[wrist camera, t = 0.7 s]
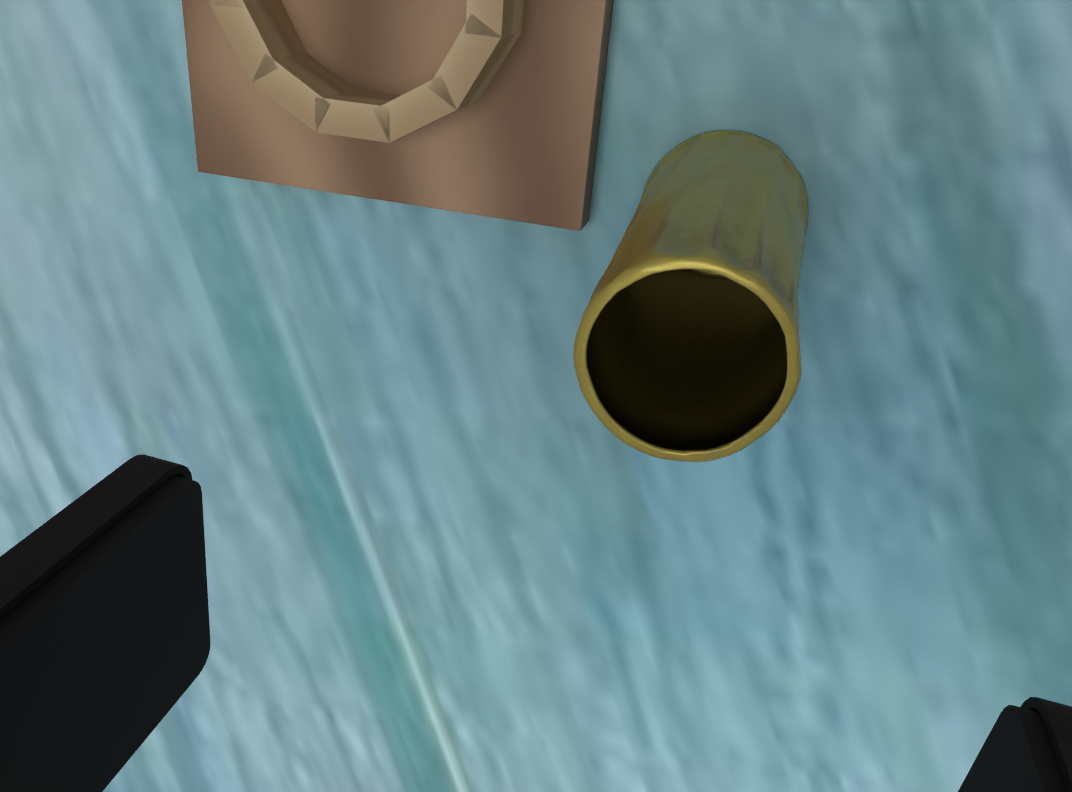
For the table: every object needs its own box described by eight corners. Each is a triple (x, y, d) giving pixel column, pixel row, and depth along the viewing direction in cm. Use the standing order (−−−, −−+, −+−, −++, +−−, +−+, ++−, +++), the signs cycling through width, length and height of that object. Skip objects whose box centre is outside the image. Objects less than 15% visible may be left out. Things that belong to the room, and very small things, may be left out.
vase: (842, 178, 31) (879, 320, 19) (752, 319, 34) (732, 521, 22) (690, 99, 31) (625, 186, 19) (613, 246, 34) (514, 405, 22)
